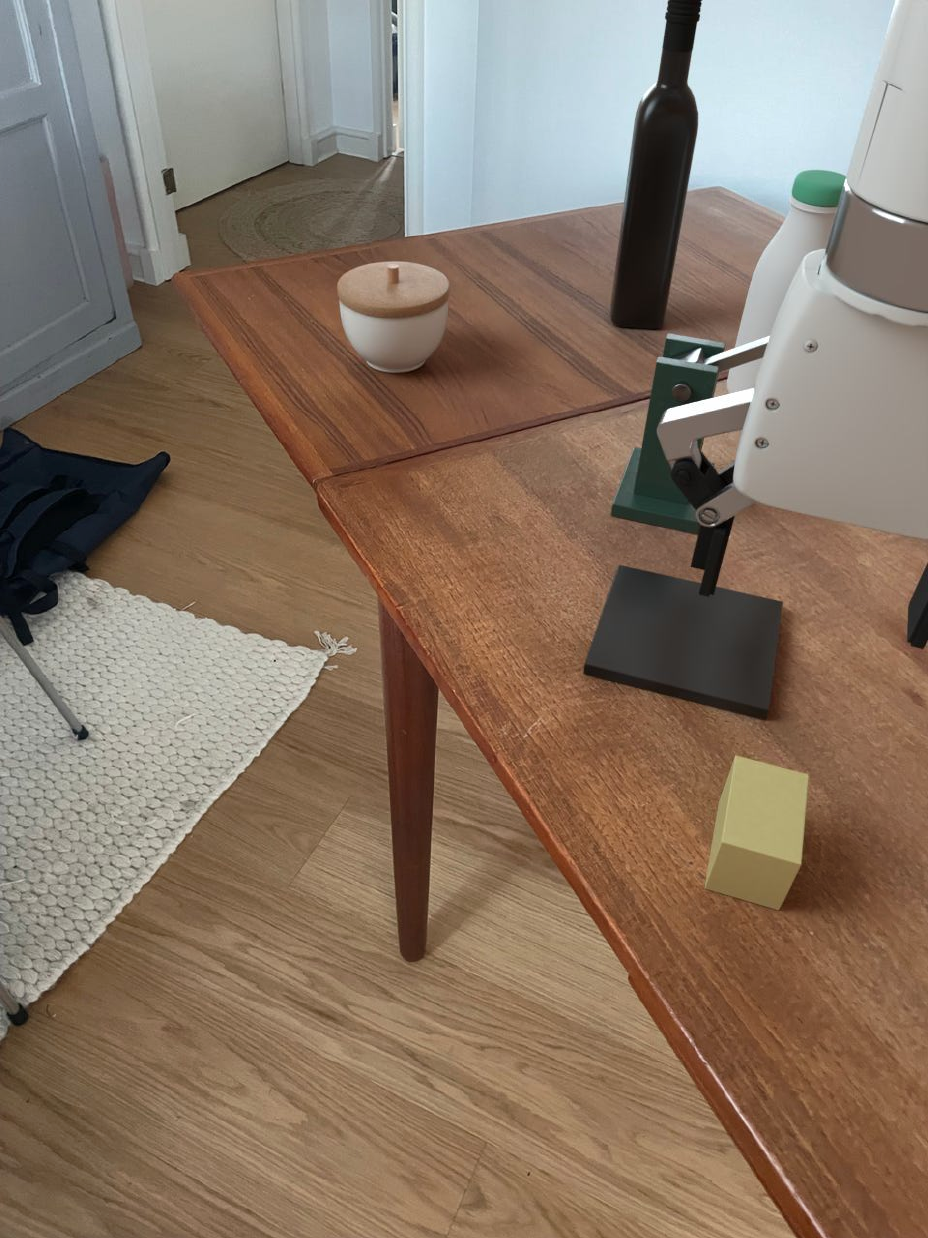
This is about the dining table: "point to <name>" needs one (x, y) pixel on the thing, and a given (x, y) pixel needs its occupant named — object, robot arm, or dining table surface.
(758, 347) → the t-handle lever
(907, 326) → the robot arm
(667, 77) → the wine bottle
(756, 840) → the butter
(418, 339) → the trinket box
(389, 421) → the dining table surface
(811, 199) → the milk bottle
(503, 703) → the dining table surface
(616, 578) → the board
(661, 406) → the green lever stand
